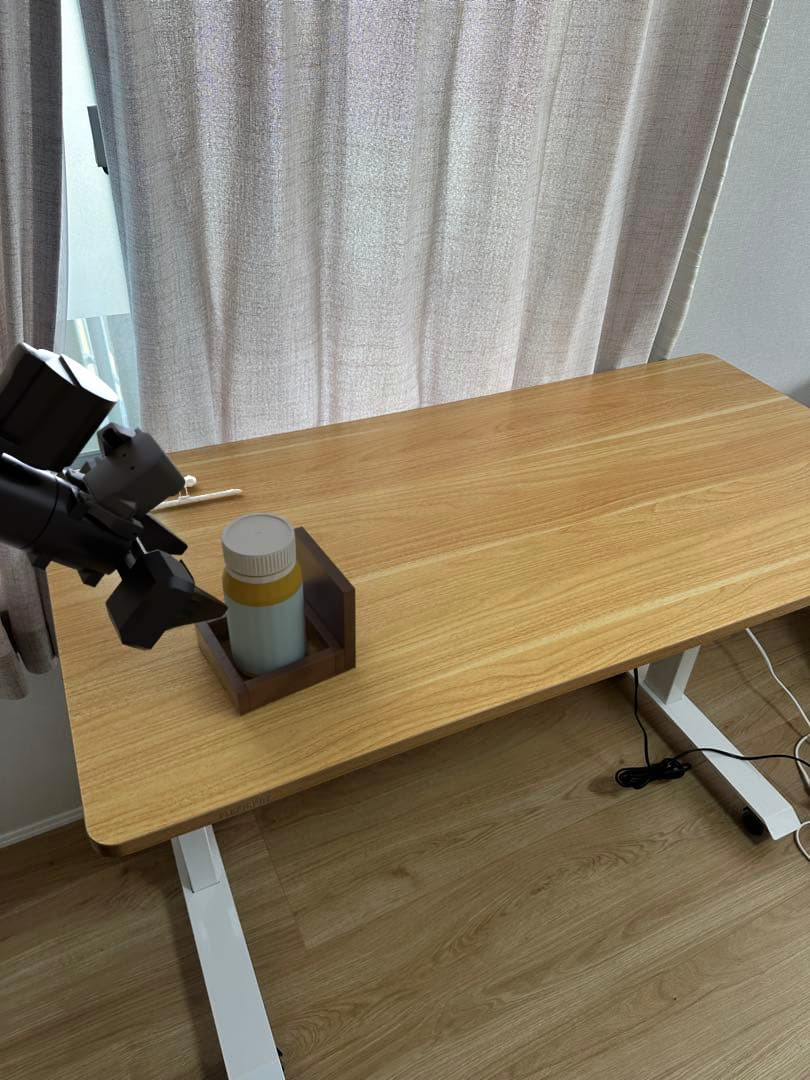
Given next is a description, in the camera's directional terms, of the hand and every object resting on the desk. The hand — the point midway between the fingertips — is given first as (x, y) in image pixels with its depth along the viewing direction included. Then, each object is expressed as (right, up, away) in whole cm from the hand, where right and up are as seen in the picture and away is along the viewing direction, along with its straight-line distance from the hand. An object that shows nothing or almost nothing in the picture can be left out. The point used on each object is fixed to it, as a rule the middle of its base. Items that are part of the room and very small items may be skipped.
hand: (203, 579), depth 68 cm
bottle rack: (+4, -8, +10) cm, 13 cm away
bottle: (+4, -8, +10) cm, 13 cm away
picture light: (-10, +9, +31) cm, 33 cm away
